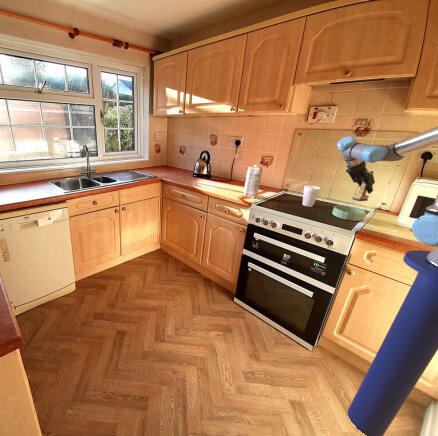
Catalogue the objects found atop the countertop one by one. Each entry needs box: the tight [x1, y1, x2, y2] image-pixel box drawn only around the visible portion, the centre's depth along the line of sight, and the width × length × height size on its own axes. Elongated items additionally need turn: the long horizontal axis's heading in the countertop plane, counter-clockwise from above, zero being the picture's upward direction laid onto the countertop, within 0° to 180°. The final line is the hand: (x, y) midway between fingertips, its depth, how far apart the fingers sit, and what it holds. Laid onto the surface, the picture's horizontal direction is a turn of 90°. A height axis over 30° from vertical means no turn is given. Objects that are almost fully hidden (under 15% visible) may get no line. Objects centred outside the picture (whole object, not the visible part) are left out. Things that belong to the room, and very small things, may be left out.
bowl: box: [331, 204, 367, 222], centre depth 149 cm, size 15×16×5 cm
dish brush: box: [351, 181, 370, 202], centre depth 137 cm, size 6×4×15 cm, turn 103°
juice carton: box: [243, 164, 263, 199], centre depth 183 cm, size 9×8×24 cm
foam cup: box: [301, 185, 322, 208], centre depth 168 cm, size 10×9×13 cm
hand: (367, 191), depth 139 cm, fingers closed on dish brush, 2 cm apart
